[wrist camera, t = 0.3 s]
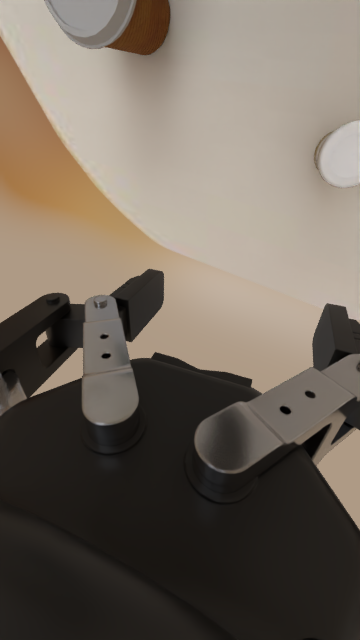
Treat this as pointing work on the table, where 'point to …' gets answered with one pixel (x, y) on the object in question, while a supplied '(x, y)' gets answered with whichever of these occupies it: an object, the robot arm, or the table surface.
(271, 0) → the table surface
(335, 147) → the sprinkles bottle
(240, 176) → the table surface
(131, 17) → the disposable coffee cup
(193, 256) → the table surface
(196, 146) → the table surface
